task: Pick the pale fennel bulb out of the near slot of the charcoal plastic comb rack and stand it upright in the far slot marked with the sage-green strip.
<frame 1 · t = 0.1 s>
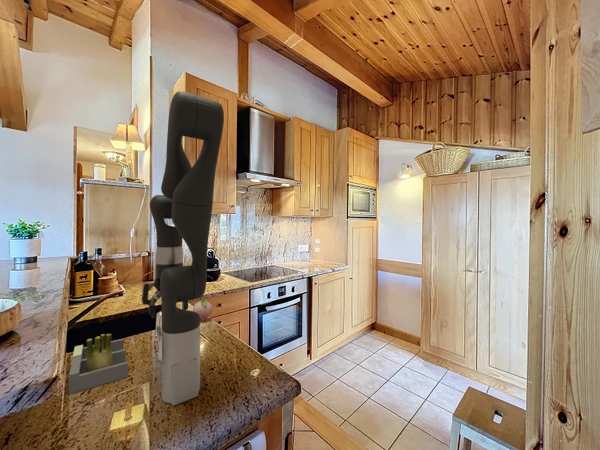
hand: (169, 314, 79), 17 cm above the counter, tool pointing down, fingers open, 8 cm apart
fennel bulb: (100, 376, 76), resting in comb rack
comb rack: (100, 368, 80), on the counter
beer glass: (167, 357, 87), on the counter
decorative fruit: (202, 320, 121), on the counter
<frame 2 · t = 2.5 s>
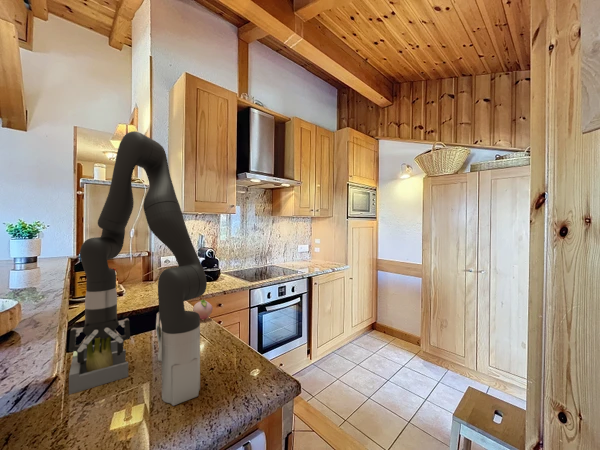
hand: (101, 358, 76), 5 cm above the counter, tool pointing down, fingers open, 8 cm apart
nothing on the counter moved.
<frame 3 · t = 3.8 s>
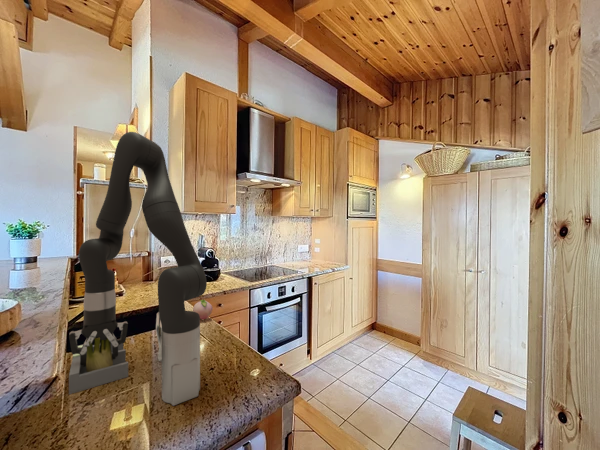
hand: (99, 361, 76), 4 cm above the counter, tool pointing down, fingers closed on fennel bulb, 6 cm apart
fennel bulb: (100, 377, 76), resting in comb rack, touching gripper
everything else where it was.
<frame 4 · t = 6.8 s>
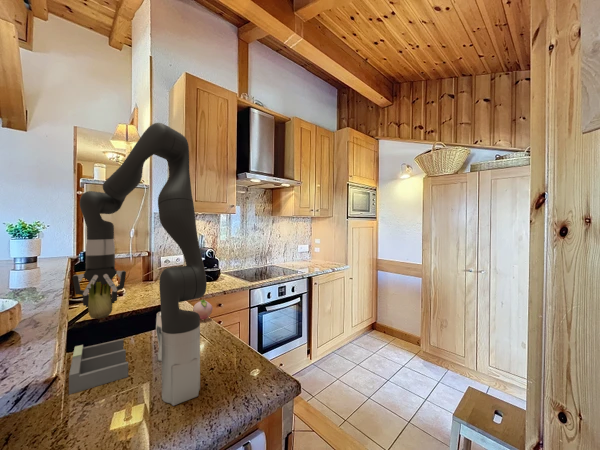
hand: (100, 304, 84), 19 cm above the counter, tool pointing down, fingers closed on fennel bulb, 6 cm apart
fennel bulb: (100, 318, 83), point 14 cm above the counter, touching gripper
everything else where it was.
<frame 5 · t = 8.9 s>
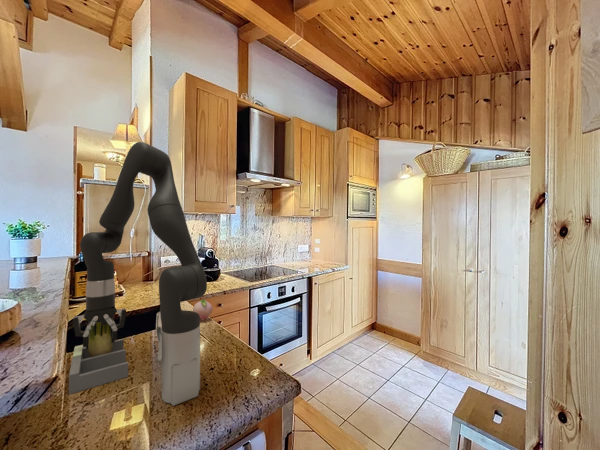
hand: (100, 344, 84), 6 cm above the counter, tool pointing down, fingers closed on fennel bulb, 6 cm apart
fennel bulb: (100, 358, 83), point 1 cm above the counter, touching gripper
everything else where it was.
when the fingers open (4 cm above the counter, at t = 10.2 s): fennel bulb stays where it is, resting in comb rack.
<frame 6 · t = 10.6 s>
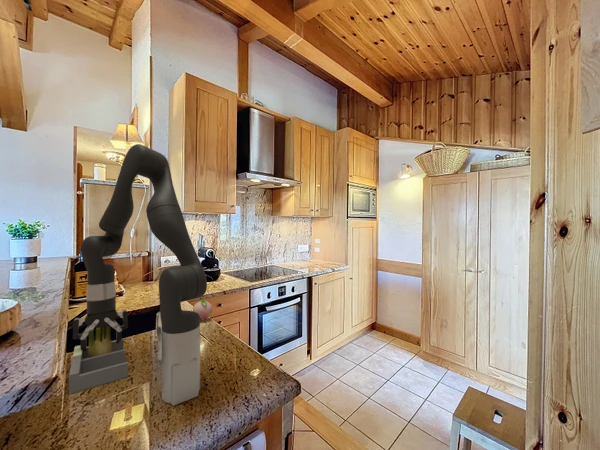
hand: (101, 346, 84), 5 cm above the counter, tool pointing down, fingers open, 8 cm apart
fennel bulb: (100, 363, 83), resting in comb rack
everything else where it was.
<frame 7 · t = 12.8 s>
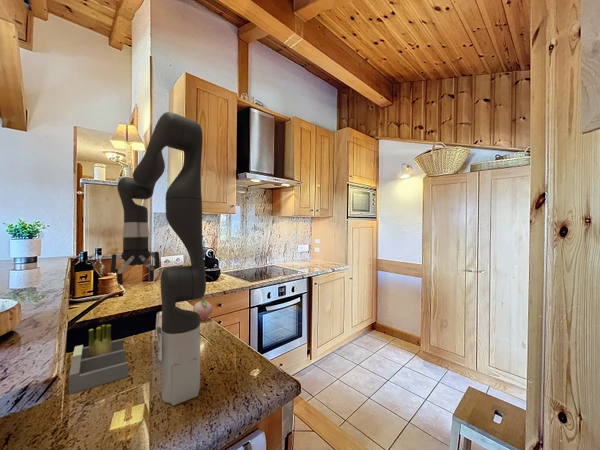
hand: (136, 282, 89), 25 cm above the counter, tool pointing down, fingers open, 8 cm apart
nothing on the counter moved.
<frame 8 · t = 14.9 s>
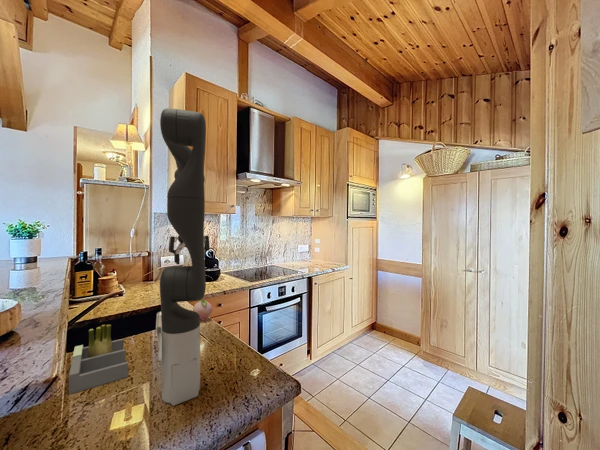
hand: (189, 263, 98), 30 cm above the counter, tool pointing down, fingers open, 8 cm apart
nothing on the counter moved.
at the end: fennel bulb 0.8 cm from the target spot on the comb rack, point 0.0 cm above the comb rack's base; fennel bulb tilted 0°; the gripper is holding nothing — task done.
